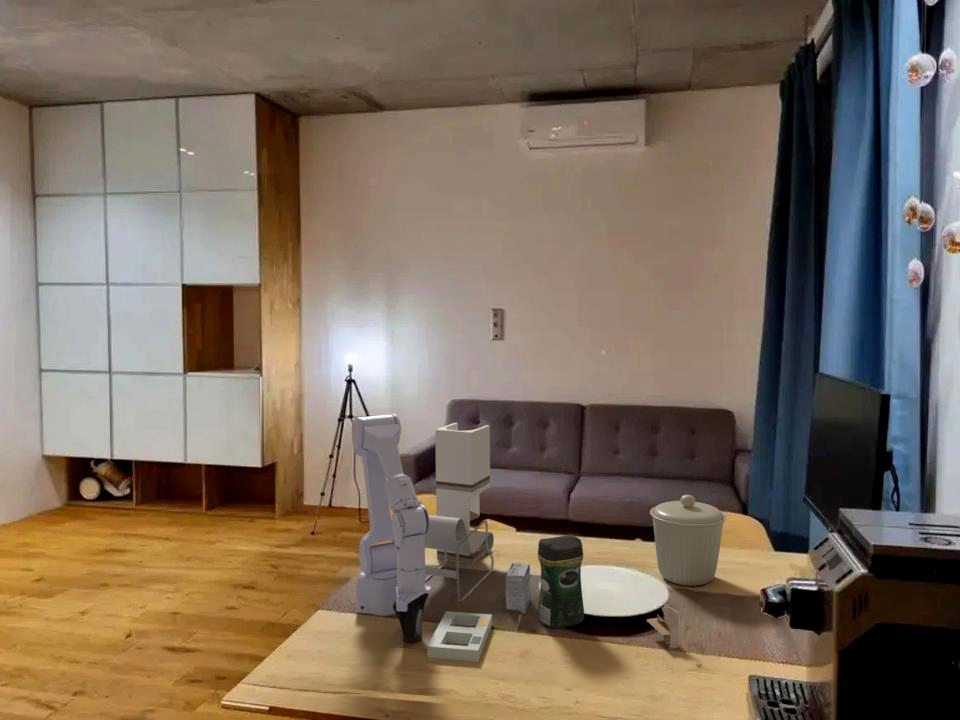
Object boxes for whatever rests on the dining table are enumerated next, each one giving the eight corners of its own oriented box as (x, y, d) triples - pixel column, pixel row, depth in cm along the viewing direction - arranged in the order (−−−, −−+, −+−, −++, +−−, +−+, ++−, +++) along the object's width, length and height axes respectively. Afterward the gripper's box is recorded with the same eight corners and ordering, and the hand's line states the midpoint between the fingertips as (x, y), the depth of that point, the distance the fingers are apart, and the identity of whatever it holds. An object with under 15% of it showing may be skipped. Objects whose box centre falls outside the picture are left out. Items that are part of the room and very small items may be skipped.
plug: (399, 642, 148) (399, 608, 148) (405, 633, 152) (404, 600, 151) (419, 643, 147) (418, 610, 147) (424, 634, 151) (423, 602, 151)
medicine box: (525, 614, 163) (525, 576, 162) (505, 612, 164) (505, 575, 163) (530, 599, 170) (530, 563, 170) (511, 598, 171) (511, 562, 170)
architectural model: (663, 652, 146) (663, 615, 145) (646, 636, 153) (647, 602, 152) (678, 649, 147) (679, 613, 146) (661, 634, 154) (661, 600, 153)
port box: (427, 661, 142) (427, 646, 142) (446, 624, 158) (446, 610, 157) (478, 665, 140) (478, 650, 140) (492, 628, 156) (492, 614, 156)
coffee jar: (570, 609, 165) (571, 528, 163) (589, 624, 157) (589, 539, 156) (532, 617, 161) (532, 534, 159) (549, 632, 154) (549, 546, 152)
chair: (404, 598, 172) (403, 516, 170) (447, 562, 195) (446, 489, 193) (457, 607, 167) (456, 522, 165) (495, 568, 190) (494, 494, 188)
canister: (696, 561, 194) (697, 483, 192) (740, 587, 177) (742, 501, 175) (635, 570, 188) (636, 489, 186) (675, 597, 171) (677, 508, 169)
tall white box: (472, 563, 193) (471, 432, 190) (437, 558, 198) (435, 429, 195) (490, 550, 204) (489, 425, 201) (456, 544, 208) (455, 422, 205)
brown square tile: (387, 650, 147) (387, 646, 147) (399, 632, 154) (399, 628, 154) (426, 653, 145) (426, 649, 145) (436, 634, 153) (436, 631, 153)
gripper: (420, 581, 141) (421, 649, 142) (438, 554, 155) (439, 617, 156) (385, 578, 142) (386, 646, 143) (406, 552, 156) (407, 614, 157)
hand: (412, 631), depth 150 cm, fingers closed on plug, 4 cm apart
